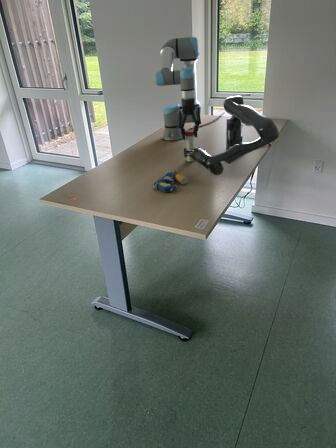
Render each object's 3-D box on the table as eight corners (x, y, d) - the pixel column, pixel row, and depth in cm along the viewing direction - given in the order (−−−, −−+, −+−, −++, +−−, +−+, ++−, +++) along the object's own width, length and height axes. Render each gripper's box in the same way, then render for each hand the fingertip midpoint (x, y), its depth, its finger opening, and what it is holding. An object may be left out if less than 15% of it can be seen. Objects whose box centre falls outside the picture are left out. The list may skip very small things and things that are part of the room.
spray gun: (192, 178, 182) (167, 175, 189) (191, 170, 180) (167, 168, 186) (176, 195, 167) (150, 192, 173) (175, 187, 165) (149, 184, 171)
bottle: (190, 162, 204) (189, 133, 195) (185, 160, 207) (184, 132, 198) (196, 160, 206) (195, 132, 197) (191, 158, 209) (190, 130, 200)
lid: (183, 135, 198) (182, 131, 197) (189, 133, 202) (188, 129, 200) (190, 136, 195) (190, 132, 194) (196, 134, 198) (195, 130, 197)
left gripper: (200, 94, 194) (201, 133, 206) (168, 99, 187) (171, 139, 199) (207, 96, 188) (207, 136, 200) (174, 101, 181) (177, 143, 193)
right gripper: (190, 165, 192) (178, 156, 205) (212, 160, 196) (199, 152, 209) (189, 153, 188) (177, 145, 202) (212, 148, 192) (198, 140, 206)
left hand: (189, 138), depth 199 cm, fingers open, 7 cm apart
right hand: (188, 148), depth 205 cm, fingers closed on bottle, 4 cm apart
